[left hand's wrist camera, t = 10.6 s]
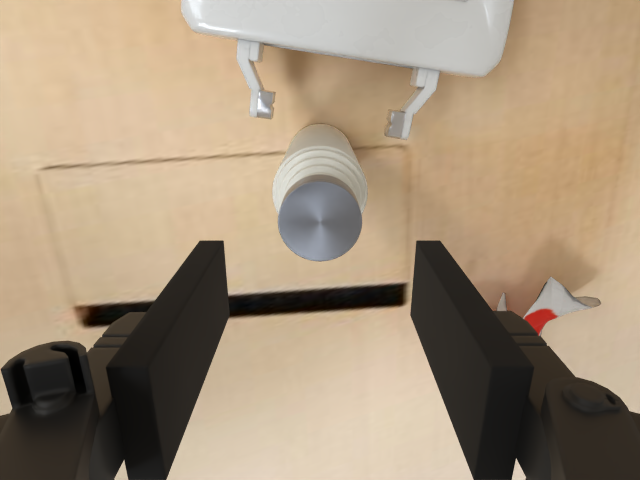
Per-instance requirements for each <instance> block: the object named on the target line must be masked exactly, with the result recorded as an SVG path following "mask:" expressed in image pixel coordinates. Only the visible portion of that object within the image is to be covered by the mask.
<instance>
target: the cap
mask: <svg viewBox="0 0 640 480" xmlns="http://www.w3.org/2000/svg"><path fill="white" fill-rule="evenodd" d="M278 228H279V232H280V235H281V237H282V239H283V241H284V243H285V244H286V245H287V247H288V248H289V249H290V250H291V251H293V252H294V253H295V254H297V255H298V256H300V257H302V258H305V259H308V260H312V261H328V260H332V259H335V258H338V257H340V256H342V255H343V254H345V253H346V252H347V251H349V250H350V249H351V248H352V247H353V245H354V244H355V243H356V241H357V239H358V237H359V235H360V232H361V228H362V215H361V210H360V207H359V204H358V201H357V198H356V196H355V194H354V192H353V191H352V189H351V188H350V187H349V186H348V185H347V184H346V183H344V182H343V181H341V180H340V179H338V178H336V177H333V176H329V175H323V174H317V175H311V176H307V177H304V178H302V179H300V180H299V181H297V182H296V183H294V184H293V185H292V186H291V187H290V188H289V190H288V191H287V192H286V194H285V196H284V198H283V201H282V204H281V207H280V210H279V215H278Z"/></svg>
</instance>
